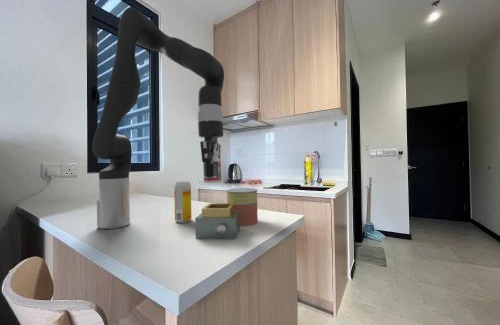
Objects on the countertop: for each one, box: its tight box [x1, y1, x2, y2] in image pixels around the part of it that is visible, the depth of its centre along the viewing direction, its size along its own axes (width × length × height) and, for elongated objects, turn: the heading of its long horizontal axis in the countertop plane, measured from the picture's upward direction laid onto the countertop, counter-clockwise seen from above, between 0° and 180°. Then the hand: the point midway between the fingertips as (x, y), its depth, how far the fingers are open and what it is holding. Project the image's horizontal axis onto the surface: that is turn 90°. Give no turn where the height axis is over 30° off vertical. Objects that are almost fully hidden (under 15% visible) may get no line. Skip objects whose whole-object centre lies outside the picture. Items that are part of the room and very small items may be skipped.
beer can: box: [173, 180, 192, 224], centre depth 82 cm, size 6×6×15 cm
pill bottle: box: [202, 151, 222, 184], centre depth 66 cm, size 5×5×10 cm
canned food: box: [226, 187, 259, 228], centre depth 79 cm, size 11×11×12 cm
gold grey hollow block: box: [194, 202, 241, 240], centre depth 66 cm, size 12×12×8 cm
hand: (212, 176), depth 66 cm, fingers closed on pill bottle, 5 cm apart
